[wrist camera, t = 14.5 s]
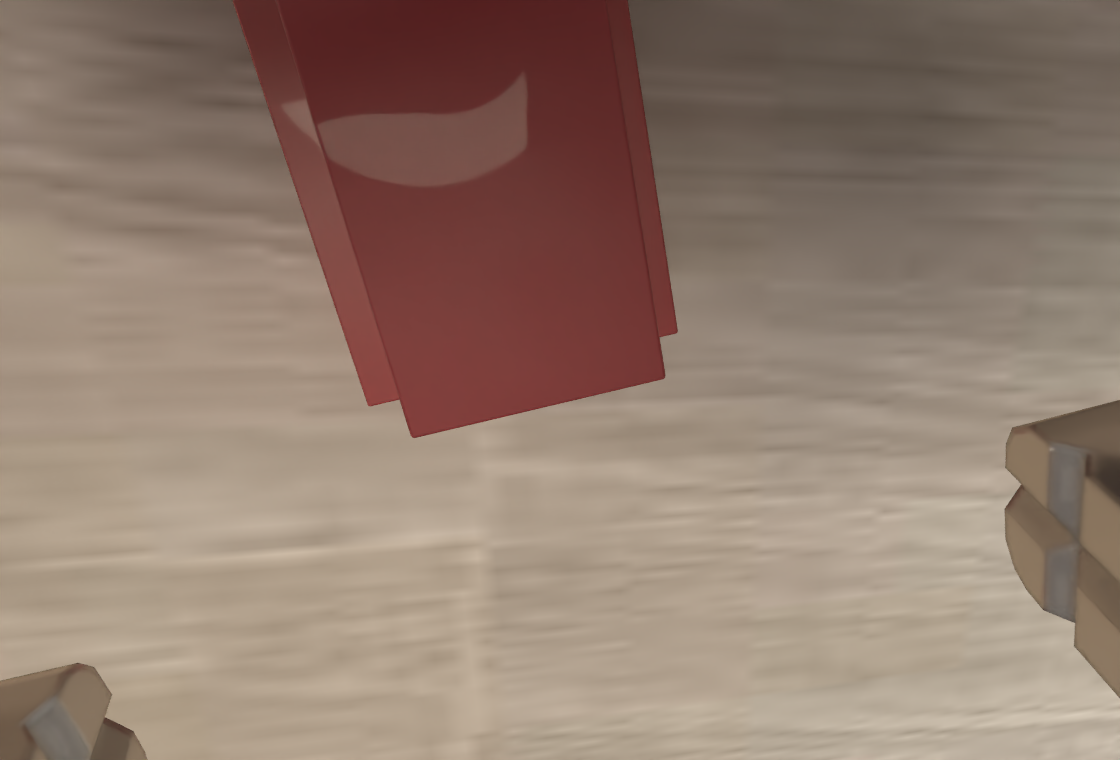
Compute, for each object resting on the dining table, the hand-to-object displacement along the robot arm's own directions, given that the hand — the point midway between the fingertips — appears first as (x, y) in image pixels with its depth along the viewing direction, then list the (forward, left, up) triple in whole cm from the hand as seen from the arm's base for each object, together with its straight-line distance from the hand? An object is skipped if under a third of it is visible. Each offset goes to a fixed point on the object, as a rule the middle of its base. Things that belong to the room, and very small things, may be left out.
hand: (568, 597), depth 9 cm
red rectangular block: (0, -2, -15) cm, 15 cm away
